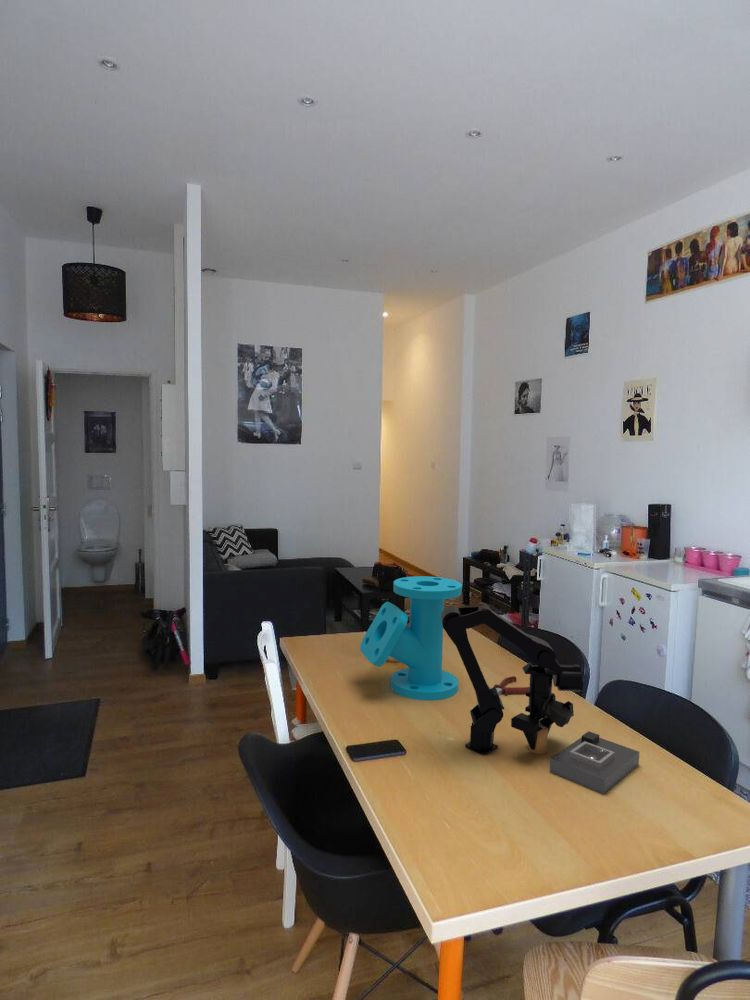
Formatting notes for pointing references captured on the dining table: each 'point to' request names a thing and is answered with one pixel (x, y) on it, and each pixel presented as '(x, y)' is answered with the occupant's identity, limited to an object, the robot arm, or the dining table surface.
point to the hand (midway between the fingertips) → (537, 746)
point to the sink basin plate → (594, 762)
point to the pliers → (510, 690)
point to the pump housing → (541, 741)
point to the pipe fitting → (414, 638)
